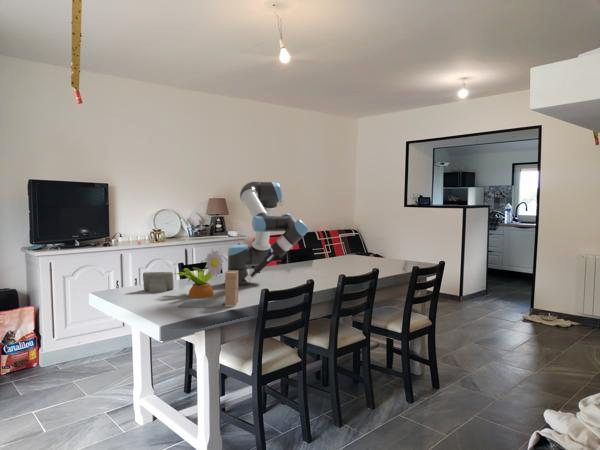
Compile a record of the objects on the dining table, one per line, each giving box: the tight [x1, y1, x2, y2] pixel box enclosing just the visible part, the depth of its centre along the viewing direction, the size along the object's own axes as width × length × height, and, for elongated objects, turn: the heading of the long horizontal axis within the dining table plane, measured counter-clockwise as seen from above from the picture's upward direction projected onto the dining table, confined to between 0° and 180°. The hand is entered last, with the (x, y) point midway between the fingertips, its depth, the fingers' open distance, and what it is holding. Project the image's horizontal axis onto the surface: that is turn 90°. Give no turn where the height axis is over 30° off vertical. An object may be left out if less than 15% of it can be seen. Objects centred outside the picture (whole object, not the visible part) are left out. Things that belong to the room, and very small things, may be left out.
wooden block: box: [224, 270, 239, 307], centre depth 207 cm, size 7×5×16 cm
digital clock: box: [142, 271, 175, 293], centre depth 236 cm, size 16×9×11 cm, turn 89°
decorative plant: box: [173, 249, 224, 299], centre depth 227 cm, size 27×24×25 cm
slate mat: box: [177, 299, 225, 309], centre depth 207 cm, size 13×20×1 cm, turn 89°
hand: (246, 280), depth 207 cm, fingers closed
